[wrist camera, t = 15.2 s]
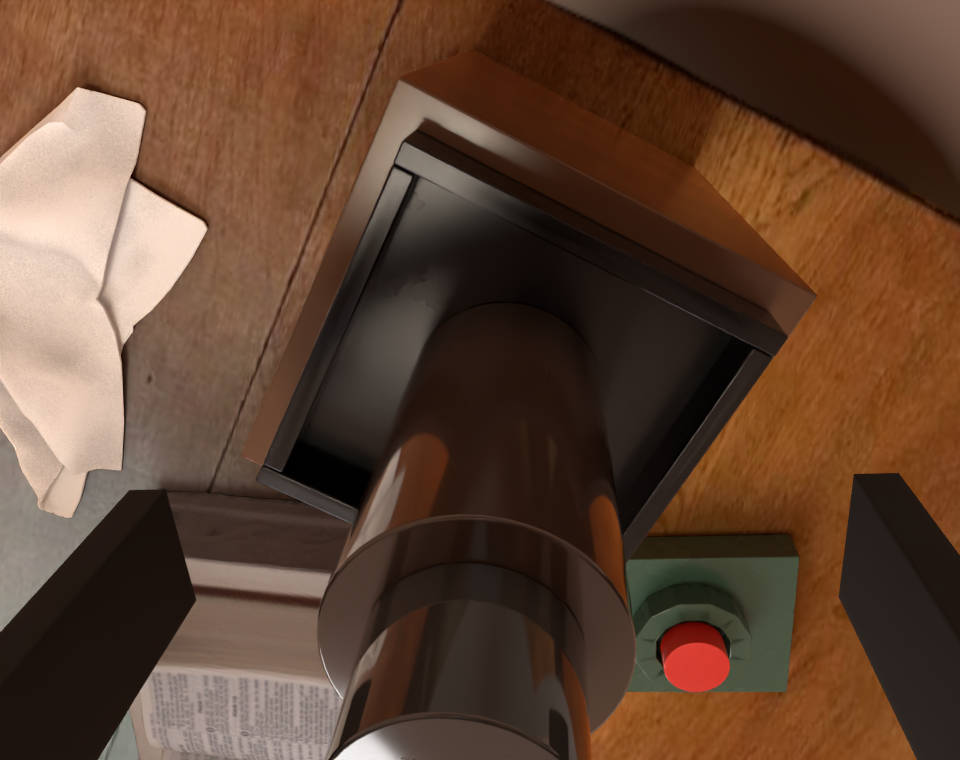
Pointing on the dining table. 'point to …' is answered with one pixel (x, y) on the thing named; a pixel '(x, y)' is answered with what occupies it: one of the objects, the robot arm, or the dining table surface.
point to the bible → (245, 636)
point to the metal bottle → (484, 557)
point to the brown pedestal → (525, 284)
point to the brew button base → (716, 604)
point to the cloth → (78, 286)
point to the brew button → (694, 656)
